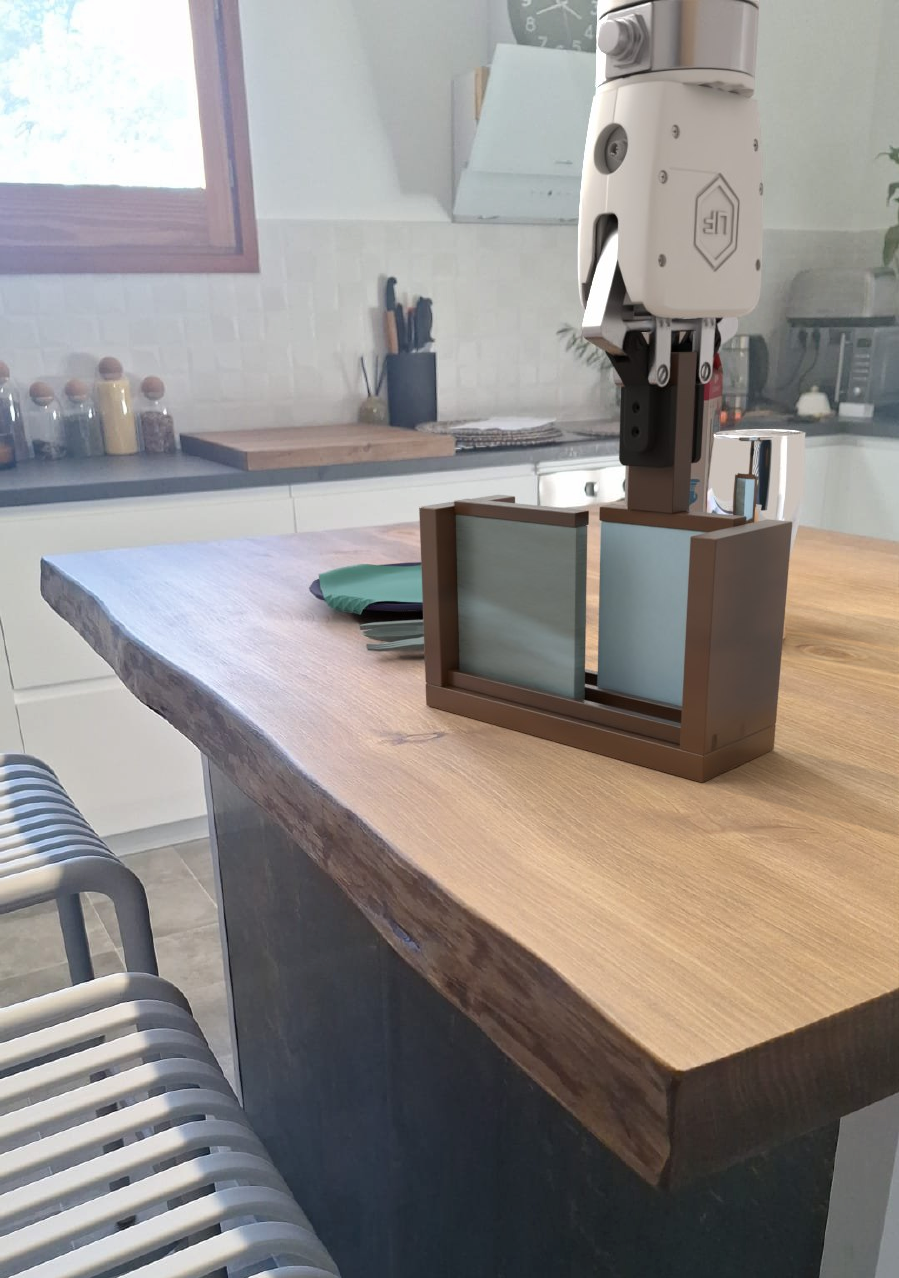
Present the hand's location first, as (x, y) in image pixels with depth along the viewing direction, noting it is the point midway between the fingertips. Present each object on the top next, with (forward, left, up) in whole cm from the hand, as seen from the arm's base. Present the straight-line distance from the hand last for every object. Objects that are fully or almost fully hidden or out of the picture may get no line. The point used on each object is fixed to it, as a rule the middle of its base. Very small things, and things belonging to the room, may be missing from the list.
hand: (659, 461), depth 61 cm
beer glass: (-24, -9, -16) cm, 30 cm away
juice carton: (-32, -22, -16) cm, 41 cm away
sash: (0, +1, -13) cm, 13 cm away
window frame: (+1, -4, -15) cm, 16 cm away
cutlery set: (-14, -34, -16) cm, 39 cm away
